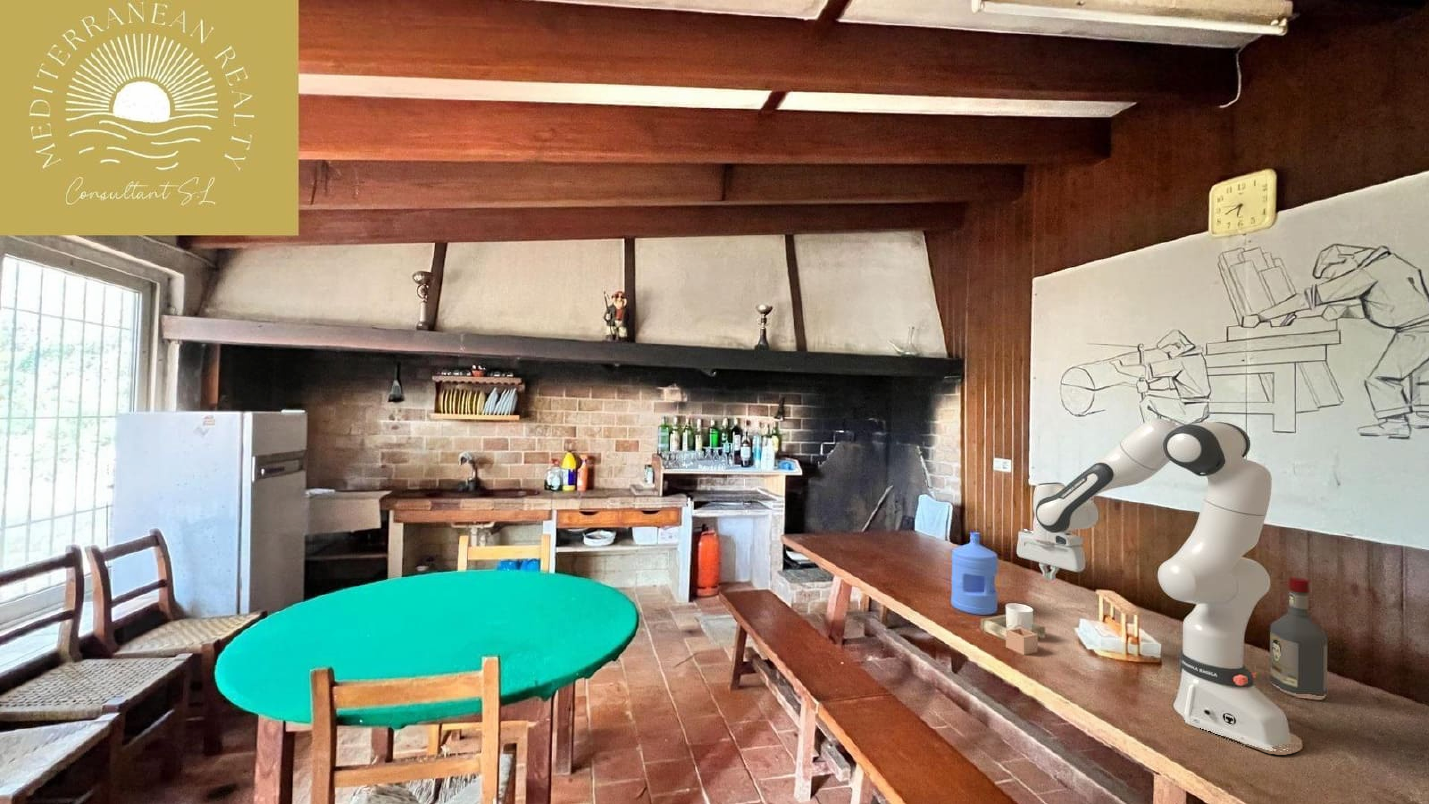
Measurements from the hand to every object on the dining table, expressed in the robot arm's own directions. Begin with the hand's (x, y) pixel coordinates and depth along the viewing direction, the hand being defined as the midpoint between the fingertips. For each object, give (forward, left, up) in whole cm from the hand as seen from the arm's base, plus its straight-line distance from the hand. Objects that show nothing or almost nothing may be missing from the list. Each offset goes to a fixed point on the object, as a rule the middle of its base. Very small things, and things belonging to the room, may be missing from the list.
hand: (1049, 578), depth 174 cm
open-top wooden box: (+2, +10, -22) cm, 24 cm away
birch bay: (+11, +1, -22) cm, 24 cm away
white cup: (+9, +1, -22) cm, 24 cm away
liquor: (-43, -38, -22) cm, 62 cm away
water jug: (+35, -8, -22) cm, 42 cm away
